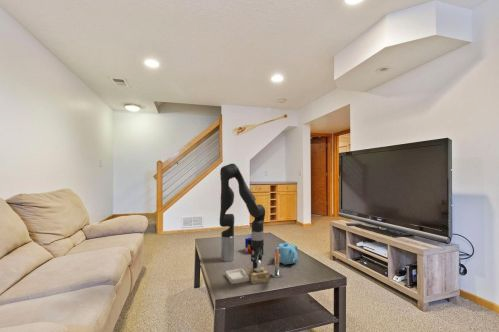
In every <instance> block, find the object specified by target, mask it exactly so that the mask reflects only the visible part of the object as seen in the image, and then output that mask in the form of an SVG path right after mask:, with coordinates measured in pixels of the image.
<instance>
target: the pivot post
mask: <svg viewBox="0 0 499 332" xmlns="http://www.w3.org/2000/svg"><path fill="white" fill-rule="evenodd" d="M269 275H270V276H271V277H273V279H279V278H284V274H283V273H281V272H280V264H279V265H275V264H274V272H269Z"/></svg>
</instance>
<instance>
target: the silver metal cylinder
mask: <svg viewBox="0 0 499 332" xmlns="http://www.w3.org/2000/svg"><path fill="white" fill-rule="evenodd" d="M262 263H263V260H262V261H261V260H260V259H257V268H256V269H255V268H254V272H255V273H260V272H261V267H263V266H262Z"/></svg>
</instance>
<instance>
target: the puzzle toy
mask: <svg viewBox="0 0 499 332" xmlns="http://www.w3.org/2000/svg"><path fill="white" fill-rule="evenodd" d="M244 239H245V243H244V244H245V247H244V251H245V252H246V253H248V254H251V251H253V250H254V248H253V247H252V246H251V237H248V238H244Z"/></svg>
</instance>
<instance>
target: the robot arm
mask: <svg viewBox="0 0 499 332" xmlns="http://www.w3.org/2000/svg"><path fill="white" fill-rule="evenodd" d="M219 175H220V177H219V178H220V209H219V210H220V213H219V226H220V227H222V228H226V227H227V228H226V229H225V230H223V231H221V236H220V237H221V239H220V241H221V243H220V244H221V247H220V249H221V251H220V252H221V253H220V255H221V258H220V259H221V261H222V262H226V263H227V262H232V261H234V260H235V256H234V255H235V253H234V252H235V246H234V245H235V230H234V229H235V215H234V213H227V211H228V210H229V209H230V208H231V207H232V206H233V204H234V202H235V193H234V191H233V189H232V187H230V185H229V184H230V180H232V179H234V178H235V179H236V181H237V184H238V194H239V196H240V198H241V199H242V201H243V202H244V204H245V206H246V208H247V211H248V213H249V215H250V216H251V217H252V218H254V219H253V221H252V222H251V235H250V238H251V246H252V247H253V248H254V250H253V251H251V253H250V262H252V268H255V269H256V268H257V259H260V260H261V261H262V262H263V256H264V245H265V243H264V241H265V238H264V237H265V235H264V222H265V217H266V208H265V206H264V205H263V204H257V203H256V197H255V195H254V193H253V192H252V191H251V190H250V188H249V187H248V185H247V182H246V181H245V179H244V177H243V174H242V173H241V171H240V169H239V167H238V166H237V165H236V164H235V163H229V164H226V165H224V166H221V168H220V170H219Z"/></svg>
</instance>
